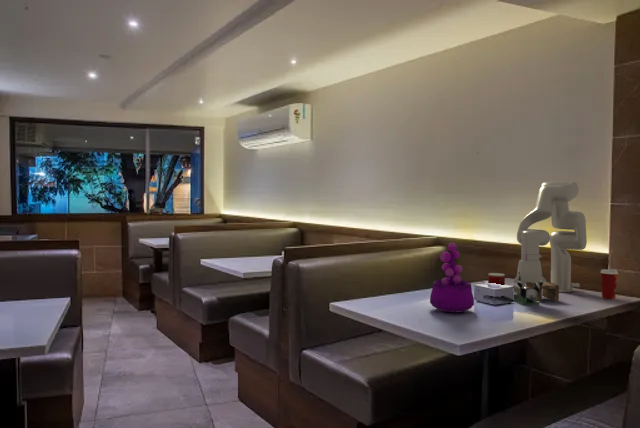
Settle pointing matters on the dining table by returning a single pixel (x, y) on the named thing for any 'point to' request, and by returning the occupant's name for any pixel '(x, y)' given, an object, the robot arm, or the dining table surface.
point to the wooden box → (546, 290)
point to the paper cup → (608, 283)
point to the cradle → (524, 300)
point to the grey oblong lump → (529, 294)
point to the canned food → (496, 278)
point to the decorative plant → (451, 286)
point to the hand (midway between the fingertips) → (529, 296)
